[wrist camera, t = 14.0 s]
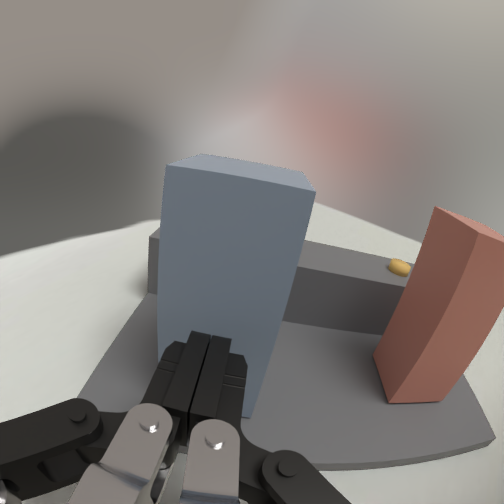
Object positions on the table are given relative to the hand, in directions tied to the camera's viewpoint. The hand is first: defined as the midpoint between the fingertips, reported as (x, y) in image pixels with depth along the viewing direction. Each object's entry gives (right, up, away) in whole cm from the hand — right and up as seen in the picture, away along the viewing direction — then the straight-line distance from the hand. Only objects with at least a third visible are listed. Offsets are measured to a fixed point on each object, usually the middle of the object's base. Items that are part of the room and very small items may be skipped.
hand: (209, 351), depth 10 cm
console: (+6, -4, +10) cm, 13 cm away
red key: (+13, -6, +7) cm, 16 cm away
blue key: (-1, -4, +6) cm, 7 cm away
